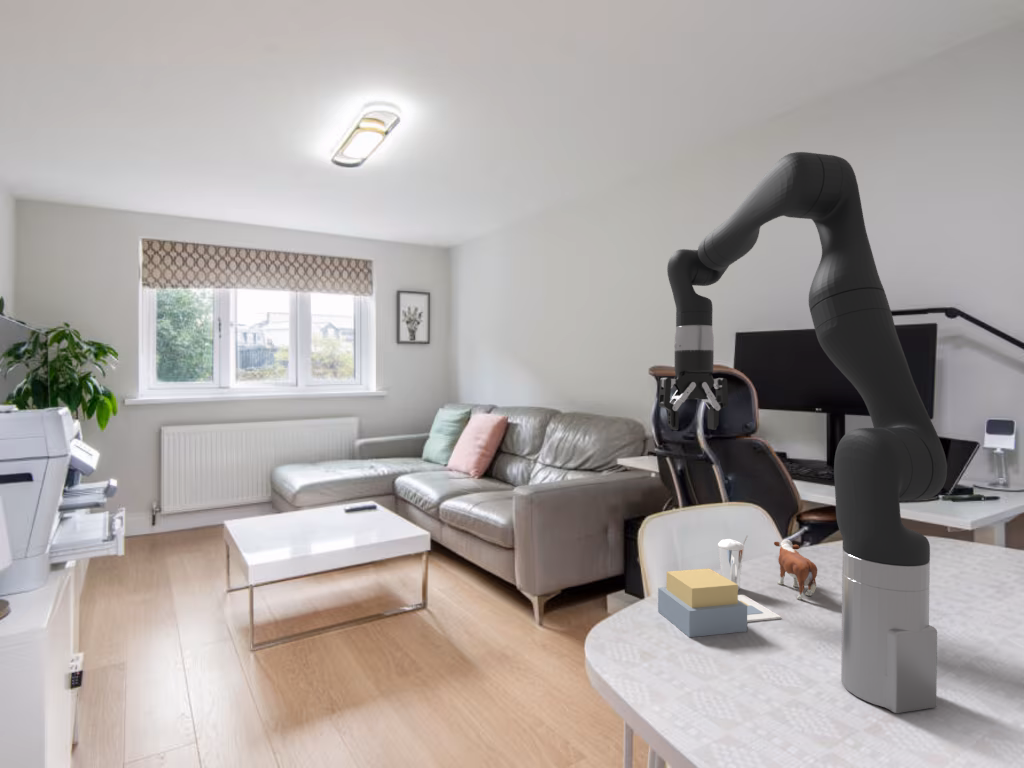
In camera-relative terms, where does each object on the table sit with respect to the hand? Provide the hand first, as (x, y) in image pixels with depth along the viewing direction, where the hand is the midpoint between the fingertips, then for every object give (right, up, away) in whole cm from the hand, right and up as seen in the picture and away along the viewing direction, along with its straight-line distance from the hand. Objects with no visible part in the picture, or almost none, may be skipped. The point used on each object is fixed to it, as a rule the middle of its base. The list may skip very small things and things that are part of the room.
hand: (693, 429), depth 116 cm
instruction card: (+3, -29, -18) cm, 34 cm away
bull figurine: (+16, -30, -8) cm, 35 cm away
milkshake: (+5, -30, -8) cm, 31 cm away
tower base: (-6, -29, -23) cm, 38 cm away
